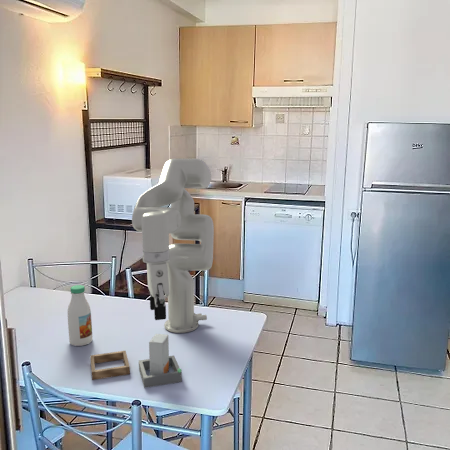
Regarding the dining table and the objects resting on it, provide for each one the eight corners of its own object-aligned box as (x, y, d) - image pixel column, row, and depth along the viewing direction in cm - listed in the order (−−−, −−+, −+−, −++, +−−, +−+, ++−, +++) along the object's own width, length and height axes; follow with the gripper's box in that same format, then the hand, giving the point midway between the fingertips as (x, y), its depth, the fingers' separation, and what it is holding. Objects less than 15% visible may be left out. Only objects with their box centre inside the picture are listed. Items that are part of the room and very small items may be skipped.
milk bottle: (71, 348, 162) (67, 292, 158) (67, 339, 169) (63, 285, 165) (94, 343, 166) (91, 288, 161) (90, 335, 172) (86, 281, 168)
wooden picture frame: (125, 357, 156) (125, 350, 155) (129, 374, 146) (129, 366, 145) (90, 362, 153) (90, 355, 152) (92, 380, 142) (91, 372, 142)
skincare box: (163, 380, 142) (162, 343, 139) (149, 379, 143) (148, 342, 140) (169, 370, 148) (168, 334, 145) (156, 369, 148) (155, 333, 146)
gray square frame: (174, 364, 152) (174, 352, 151) (182, 381, 141) (182, 369, 140) (139, 369, 148) (138, 357, 147) (144, 388, 138) (143, 375, 137)
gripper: (175, 262, 130) (176, 324, 134) (163, 247, 146) (165, 302, 150) (147, 265, 128) (149, 327, 132) (138, 249, 144) (140, 305, 148)
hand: (158, 313), depth 141 cm, fingers open, 7 cm apart
